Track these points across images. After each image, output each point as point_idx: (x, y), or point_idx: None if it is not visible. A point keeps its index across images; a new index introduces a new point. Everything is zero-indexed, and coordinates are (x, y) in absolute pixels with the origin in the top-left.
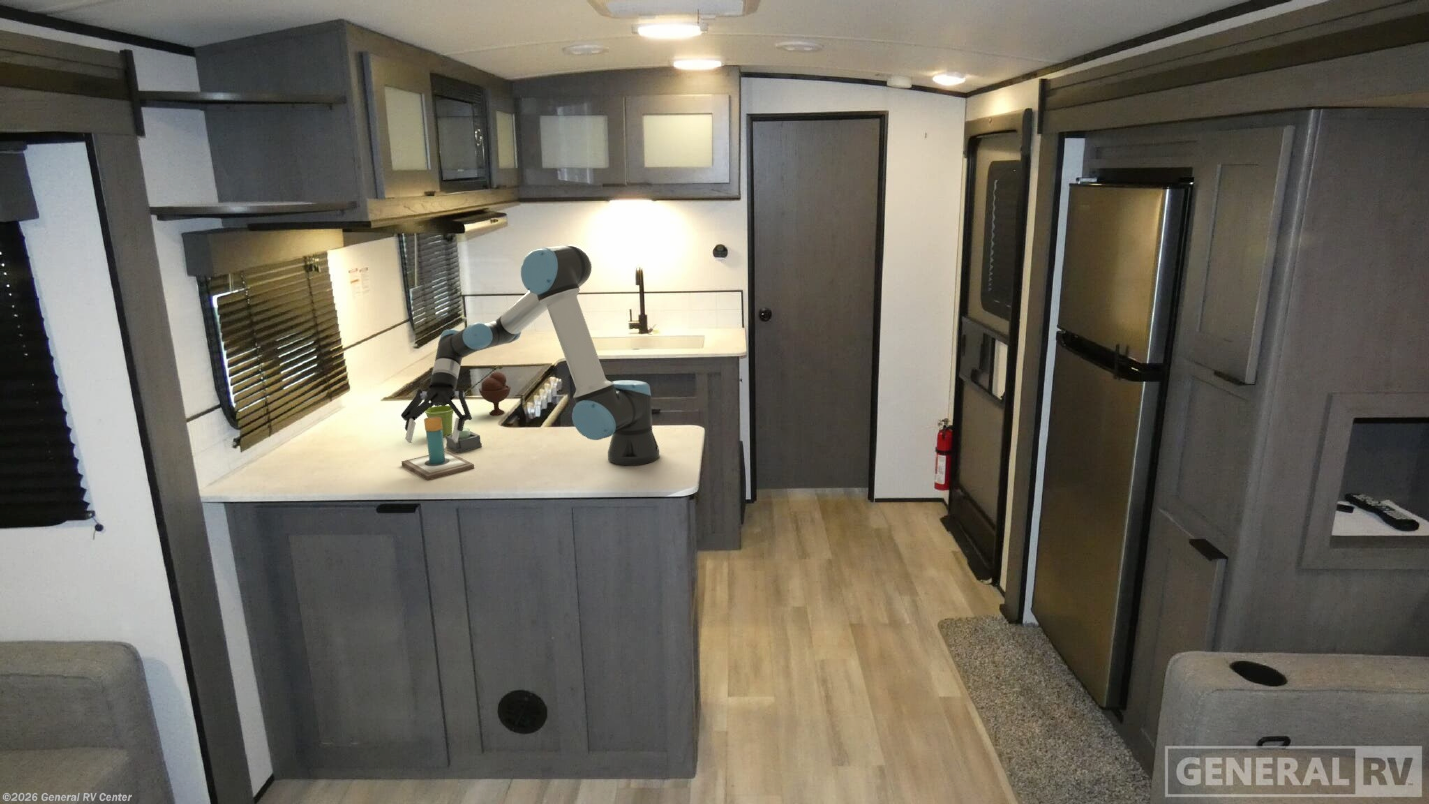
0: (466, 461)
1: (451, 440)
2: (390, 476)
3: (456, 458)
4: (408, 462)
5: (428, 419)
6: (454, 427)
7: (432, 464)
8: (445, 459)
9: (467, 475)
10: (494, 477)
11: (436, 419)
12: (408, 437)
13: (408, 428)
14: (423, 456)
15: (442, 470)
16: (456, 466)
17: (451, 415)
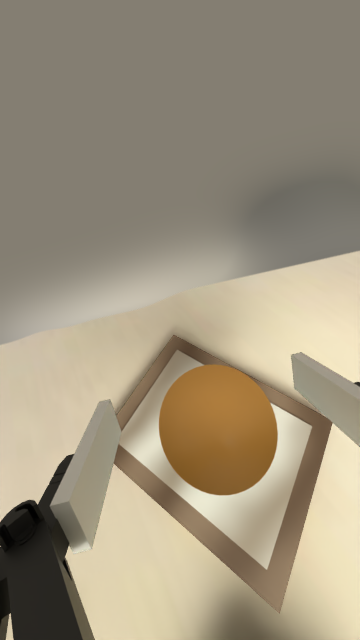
0: (126, 467)
1: None
2: (276, 339)
3: (170, 487)
4: (301, 416)
5: (235, 399)
6: (91, 439)
7: None
8: None
9: (98, 387)
10: (30, 389)
11: (181, 411)
12: (295, 361)
13: (334, 376)
14: (307, 492)
15: (158, 375)
16: (135, 411)
17: None
